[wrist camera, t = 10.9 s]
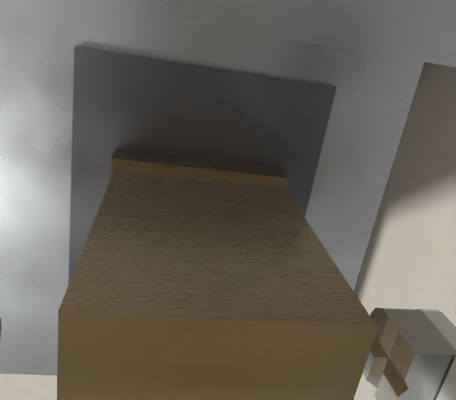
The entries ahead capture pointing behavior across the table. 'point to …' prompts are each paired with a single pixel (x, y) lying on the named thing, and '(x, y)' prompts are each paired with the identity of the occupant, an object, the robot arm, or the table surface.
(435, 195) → the table surface
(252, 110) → the gray slotted base plate
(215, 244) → the tan wooden block
